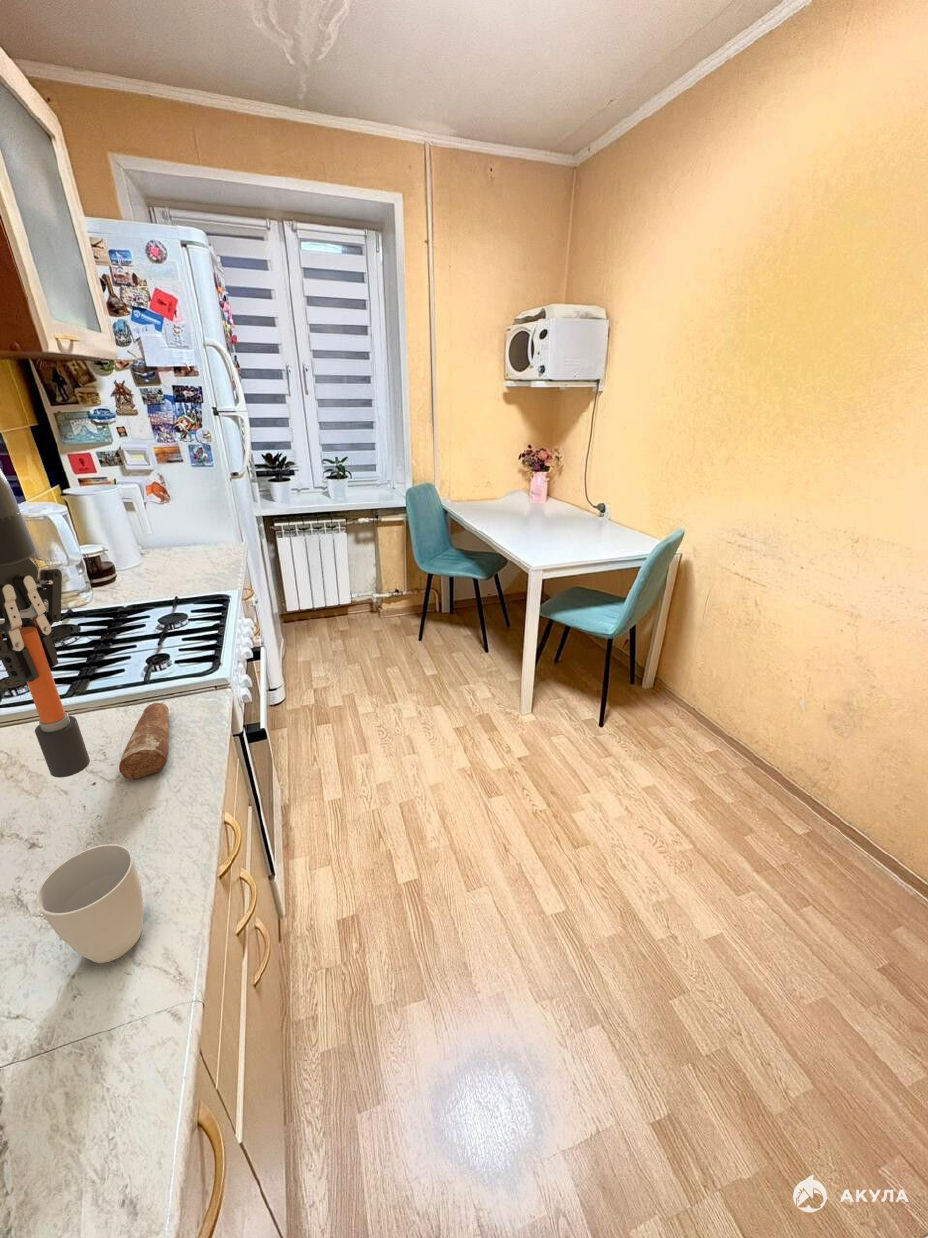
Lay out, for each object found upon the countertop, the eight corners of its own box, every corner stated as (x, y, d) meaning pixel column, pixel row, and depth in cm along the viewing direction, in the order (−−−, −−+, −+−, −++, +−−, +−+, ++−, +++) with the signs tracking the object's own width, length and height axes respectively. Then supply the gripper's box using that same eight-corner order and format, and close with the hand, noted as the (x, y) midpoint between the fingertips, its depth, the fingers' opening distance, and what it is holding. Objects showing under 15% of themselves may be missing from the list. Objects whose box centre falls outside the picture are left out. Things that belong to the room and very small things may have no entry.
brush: (41, 774, 58) (-12, 636, 50) (70, 753, 61) (24, 621, 54) (70, 780, 57) (20, 641, 50) (97, 758, 61) (55, 625, 53)
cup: (163, 895, 60) (139, 835, 55) (151, 961, 53) (123, 897, 49) (83, 919, 57) (52, 857, 53) (59, 992, 50) (22, 927, 46)
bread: (123, 789, 76) (112, 759, 74) (144, 720, 92) (135, 694, 90) (170, 777, 78) (160, 748, 76) (182, 712, 94) (174, 687, 92)
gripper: (-9, 500, 53) (50, 644, 60) (-155, 534, 40) (-58, 711, 48) (61, 498, 53) (112, 643, 60) (-63, 532, 40) (21, 709, 48)
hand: (37, 672), depth 54 cm, fingers closed on brush, 2 cm apart
